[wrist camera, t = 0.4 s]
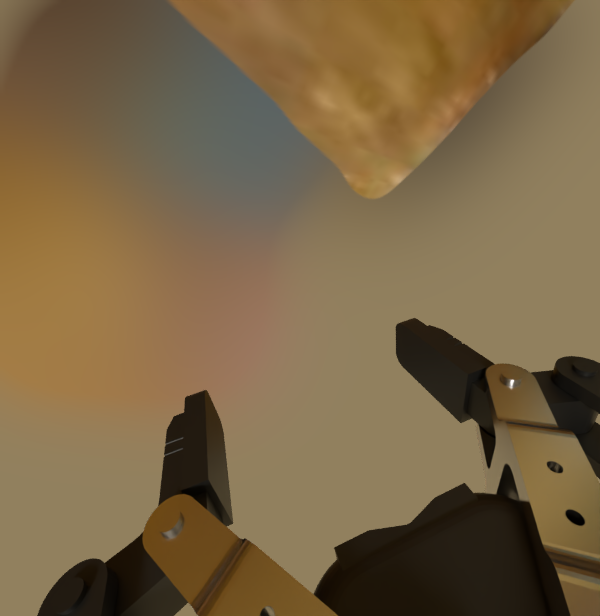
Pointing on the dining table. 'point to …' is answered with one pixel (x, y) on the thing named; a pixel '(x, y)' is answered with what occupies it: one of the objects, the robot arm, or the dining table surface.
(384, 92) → the dining table surface
